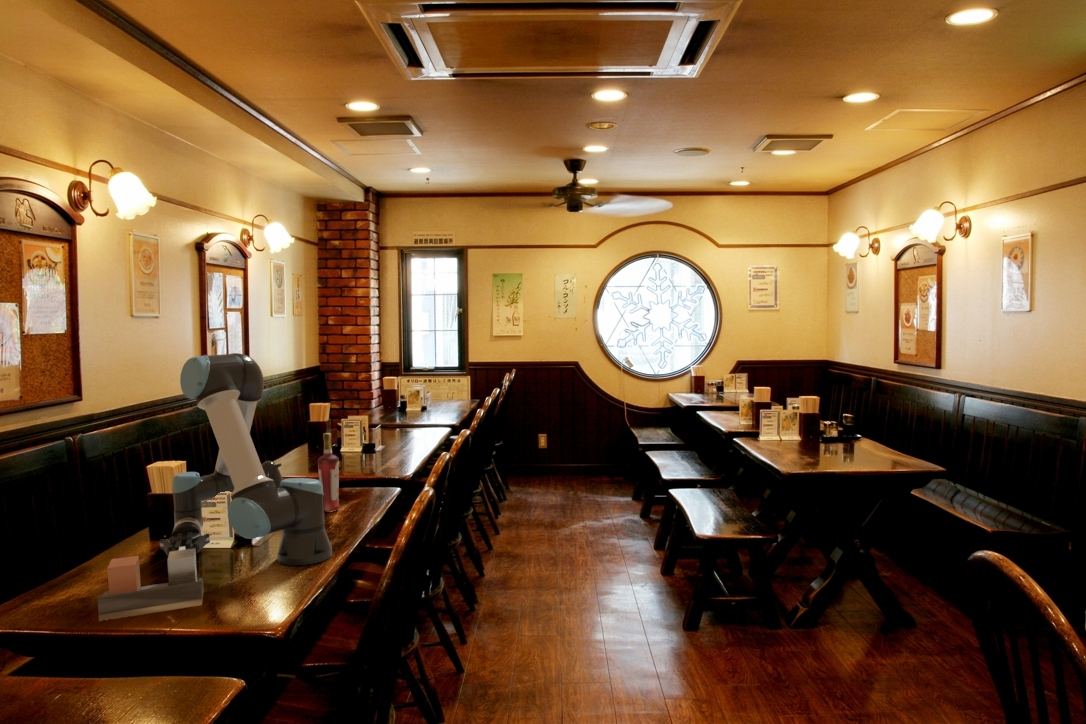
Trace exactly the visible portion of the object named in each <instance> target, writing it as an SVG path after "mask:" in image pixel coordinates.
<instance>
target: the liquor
mask: <svg viewBox="0 0 1086 724" xmlns="http://www.w3.org/2000/svg"><path fill="white" fill-rule="evenodd" d="M322 437H323V455H321V456H319V458H317V468H318V470H317V471H318V480H319V481H320V482H321V483H322V486H323V493H324V511H332V510H337V509H338V510H339V509H340V508H341V505H340V503H339V501H340V499H339V496H340V495H339V493H340V491H339V490H340V489H339V487H340V486H339V483H340V481H339V480H340V479H339V477H340V475H339V474H340V469H339V468H340V465H339V464H340V460H339V459H340V458H339V457H338V456H336V455H335V454H333V450H332V448H333V447H332V443H331V442H332V433H330V432H324V433H323V435H322ZM338 510H337V511H338Z"/></svg>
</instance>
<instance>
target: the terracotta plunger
mask: <svg viewBox="0 0 1086 724" xmlns="http://www.w3.org/2000/svg"><path fill="white" fill-rule="evenodd" d="M140 568H141V567H140V556H139V555H136V556H135V555H134V556H126V557H119V558H112V559H111V560H110V562H109V563H108V566H107V568H106V569H107V579H108V580H107V581H108V583H107V584H108V591H109V595H111V594H118V593H125V592H131V591H138V590H140V588H141V587H142V584H141V571H140Z"/></svg>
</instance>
